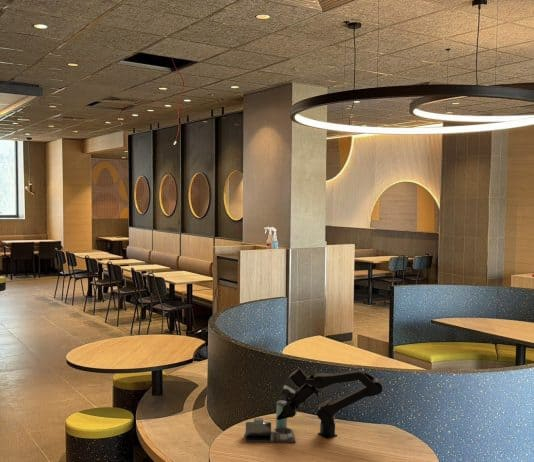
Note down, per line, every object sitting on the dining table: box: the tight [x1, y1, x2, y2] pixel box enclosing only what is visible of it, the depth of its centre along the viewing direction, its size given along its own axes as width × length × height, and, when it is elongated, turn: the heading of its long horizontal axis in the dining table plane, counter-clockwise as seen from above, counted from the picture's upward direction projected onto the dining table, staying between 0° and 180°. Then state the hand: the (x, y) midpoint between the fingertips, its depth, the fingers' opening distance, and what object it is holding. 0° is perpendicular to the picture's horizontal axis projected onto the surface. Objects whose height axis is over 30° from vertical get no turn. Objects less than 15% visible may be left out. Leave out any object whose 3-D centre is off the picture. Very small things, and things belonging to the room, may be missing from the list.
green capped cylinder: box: [275, 399, 288, 428], centre depth 271 cm, size 5×5×13 cm
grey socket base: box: [244, 417, 296, 444], centre depth 262 cm, size 22×10×8 cm, turn 93°
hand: (278, 415), depth 271 cm, fingers open, 9 cm apart
